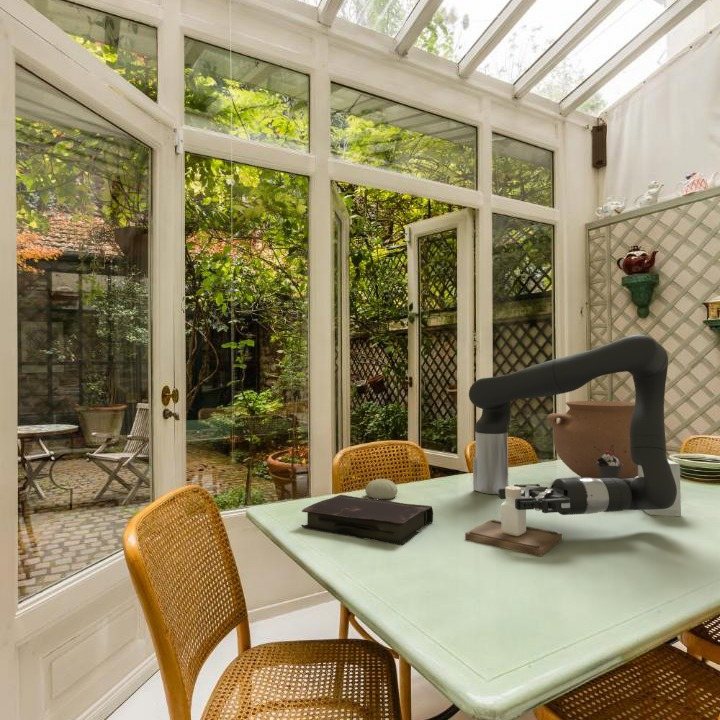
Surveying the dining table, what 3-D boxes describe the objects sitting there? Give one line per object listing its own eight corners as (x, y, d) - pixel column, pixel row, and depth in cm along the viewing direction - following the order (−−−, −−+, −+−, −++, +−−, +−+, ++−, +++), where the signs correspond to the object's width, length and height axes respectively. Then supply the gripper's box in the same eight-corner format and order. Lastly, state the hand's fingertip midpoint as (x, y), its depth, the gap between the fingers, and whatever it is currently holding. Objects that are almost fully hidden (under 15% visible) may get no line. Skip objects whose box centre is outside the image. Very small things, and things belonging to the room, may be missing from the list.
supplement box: (682, 516, 121) (680, 463, 122) (648, 515, 123) (647, 463, 123) (669, 508, 129) (668, 458, 129) (638, 507, 130) (637, 457, 130)
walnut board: (465, 538, 107) (465, 531, 107) (490, 525, 116) (490, 518, 116) (541, 556, 96) (541, 548, 96) (562, 539, 106) (561, 532, 106)
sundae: (621, 499, 138) (620, 444, 138) (625, 505, 131) (624, 447, 132) (595, 497, 140) (594, 443, 140) (598, 503, 134) (596, 446, 134)
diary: (341, 512, 131) (341, 492, 131) (433, 525, 119) (433, 504, 119) (299, 531, 114) (299, 508, 114) (400, 549, 102) (400, 523, 102)
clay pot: (589, 498, 139) (587, 407, 140) (528, 476, 168) (527, 401, 169) (691, 490, 147) (689, 404, 148) (616, 471, 176) (615, 399, 177)
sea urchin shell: (403, 487, 146) (396, 471, 141) (396, 511, 141) (389, 495, 136) (374, 484, 150) (366, 468, 145) (366, 508, 145) (358, 492, 140)
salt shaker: (509, 529, 109) (509, 484, 109) (527, 533, 106) (526, 487, 106) (500, 533, 106) (499, 487, 106) (518, 537, 103) (517, 490, 104)
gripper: (561, 471, 115) (493, 474, 113) (598, 485, 101) (521, 488, 99) (562, 504, 115) (494, 507, 113) (599, 523, 101) (522, 527, 99)
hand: (507, 498), depth 106 cm, fingers open, 8 cm apart
